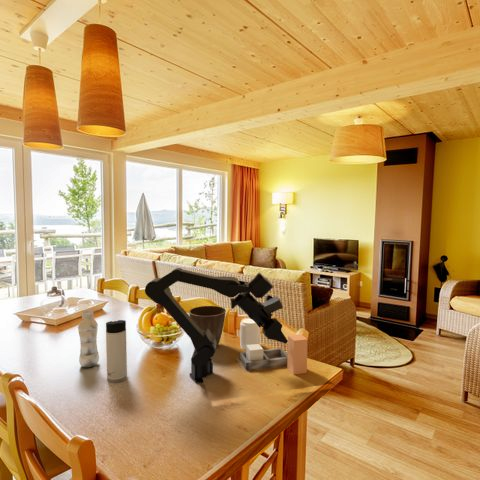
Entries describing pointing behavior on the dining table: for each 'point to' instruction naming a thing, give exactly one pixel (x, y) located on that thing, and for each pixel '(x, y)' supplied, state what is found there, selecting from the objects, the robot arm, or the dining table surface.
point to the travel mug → (116, 351)
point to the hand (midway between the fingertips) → (282, 337)
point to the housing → (264, 360)
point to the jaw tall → (297, 354)
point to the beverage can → (249, 333)
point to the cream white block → (254, 352)
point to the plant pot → (209, 319)
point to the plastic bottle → (88, 340)
